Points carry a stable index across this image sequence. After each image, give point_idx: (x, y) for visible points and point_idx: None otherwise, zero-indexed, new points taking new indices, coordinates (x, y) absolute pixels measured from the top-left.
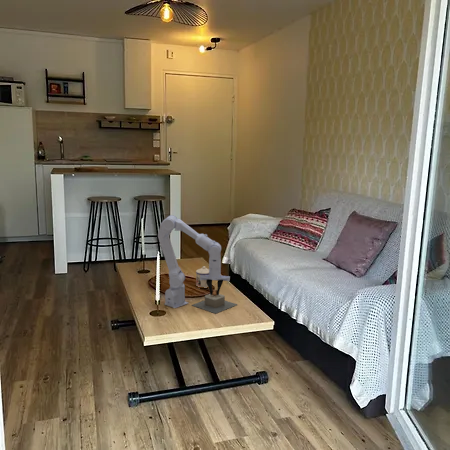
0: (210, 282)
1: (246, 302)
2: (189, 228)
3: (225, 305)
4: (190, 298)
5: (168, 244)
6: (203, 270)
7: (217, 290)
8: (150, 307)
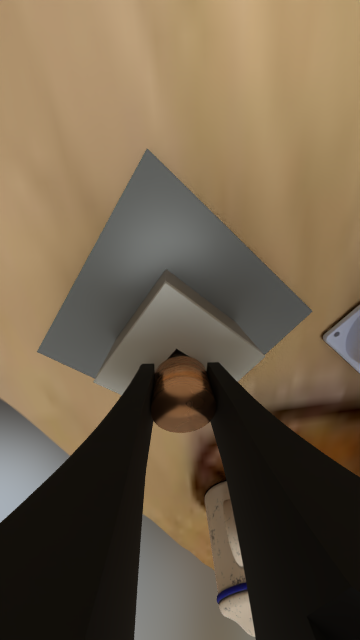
0: None
1: (5, 390)
2: None
3: (105, 325)
4: (296, 398)
5: None
6: None
7: (144, 398)
8: None
